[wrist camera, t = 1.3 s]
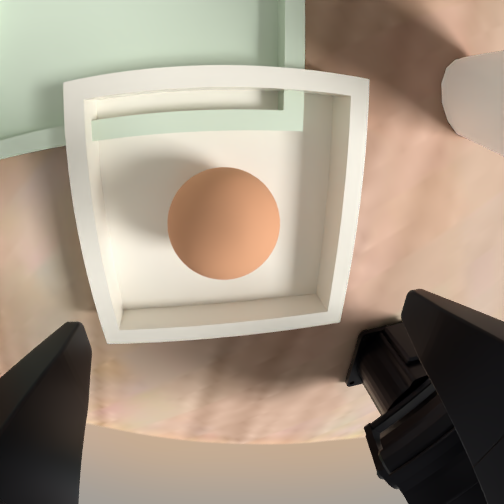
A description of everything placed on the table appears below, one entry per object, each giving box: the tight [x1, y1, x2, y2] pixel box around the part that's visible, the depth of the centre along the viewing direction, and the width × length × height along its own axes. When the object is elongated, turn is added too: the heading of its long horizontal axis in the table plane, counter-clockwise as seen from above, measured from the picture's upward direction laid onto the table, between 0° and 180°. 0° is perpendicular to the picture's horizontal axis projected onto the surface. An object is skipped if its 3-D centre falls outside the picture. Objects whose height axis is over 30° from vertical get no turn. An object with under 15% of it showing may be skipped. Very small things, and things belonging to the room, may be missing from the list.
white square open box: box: [63, 65, 369, 344], centre depth 16 cm, size 14×14×3 cm
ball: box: [167, 167, 280, 280], centre depth 14 cm, size 5×5×5 cm
